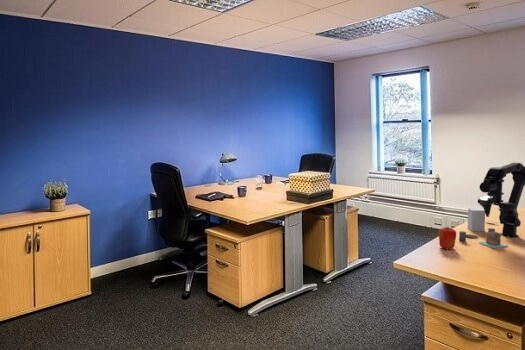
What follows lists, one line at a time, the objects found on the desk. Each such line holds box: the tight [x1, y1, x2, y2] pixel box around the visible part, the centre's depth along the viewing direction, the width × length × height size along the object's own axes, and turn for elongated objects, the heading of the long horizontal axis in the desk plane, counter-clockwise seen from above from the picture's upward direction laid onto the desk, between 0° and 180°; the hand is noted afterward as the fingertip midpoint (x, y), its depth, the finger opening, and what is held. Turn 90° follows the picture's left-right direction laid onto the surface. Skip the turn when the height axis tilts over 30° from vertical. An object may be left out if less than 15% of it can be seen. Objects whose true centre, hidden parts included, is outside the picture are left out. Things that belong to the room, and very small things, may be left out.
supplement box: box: [467, 207, 486, 232], centre depth 227 cm, size 7×7×13 cm
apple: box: [437, 226, 457, 250], centre depth 195 cm, size 9×8×12 cm
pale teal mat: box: [478, 241, 508, 249], centre depth 198 cm, size 9×9×1 cm
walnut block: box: [485, 231, 502, 246], centre depth 198 cm, size 4×4×6 cm
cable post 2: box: [487, 227, 496, 232], centre depth 211 cm, size 3×3×5 cm
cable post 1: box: [458, 230, 467, 243], centre depth 207 cm, size 3×3×5 cm
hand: (494, 218), depth 205 cm, fingers open, 9 cm apart
